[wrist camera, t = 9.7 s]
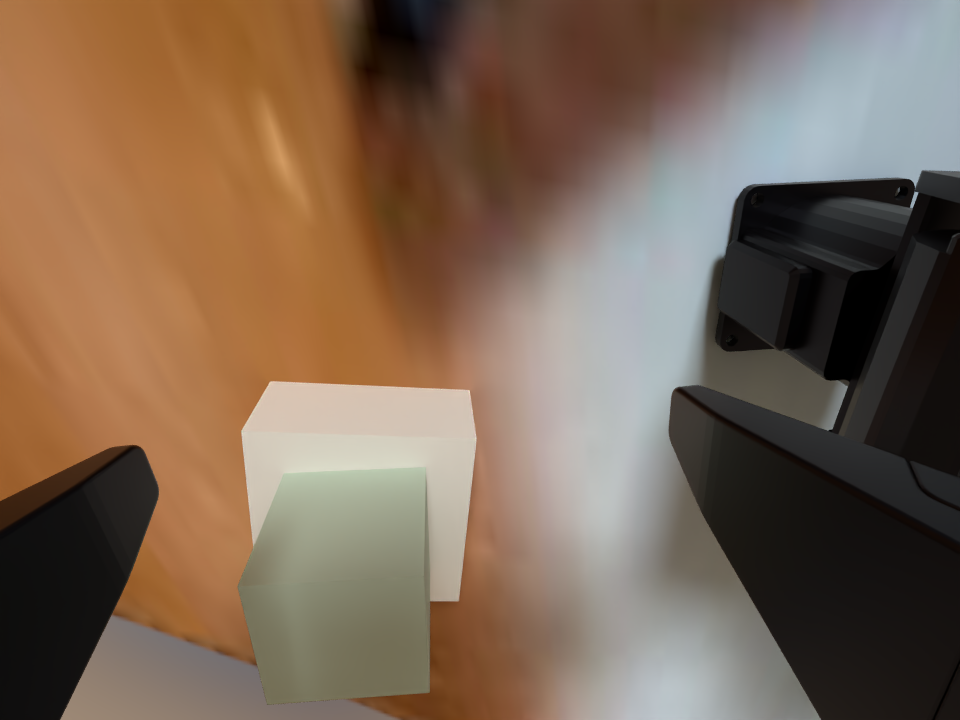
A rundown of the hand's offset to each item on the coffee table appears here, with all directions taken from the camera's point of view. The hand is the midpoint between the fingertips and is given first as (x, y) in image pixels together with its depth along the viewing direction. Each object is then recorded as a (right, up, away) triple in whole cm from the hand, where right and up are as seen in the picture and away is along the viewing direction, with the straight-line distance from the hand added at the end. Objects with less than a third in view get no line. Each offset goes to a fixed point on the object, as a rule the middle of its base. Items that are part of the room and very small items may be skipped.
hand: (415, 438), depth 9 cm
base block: (-4, -3, +15) cm, 15 cm away
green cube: (-3, -5, +11) cm, 13 cm away
